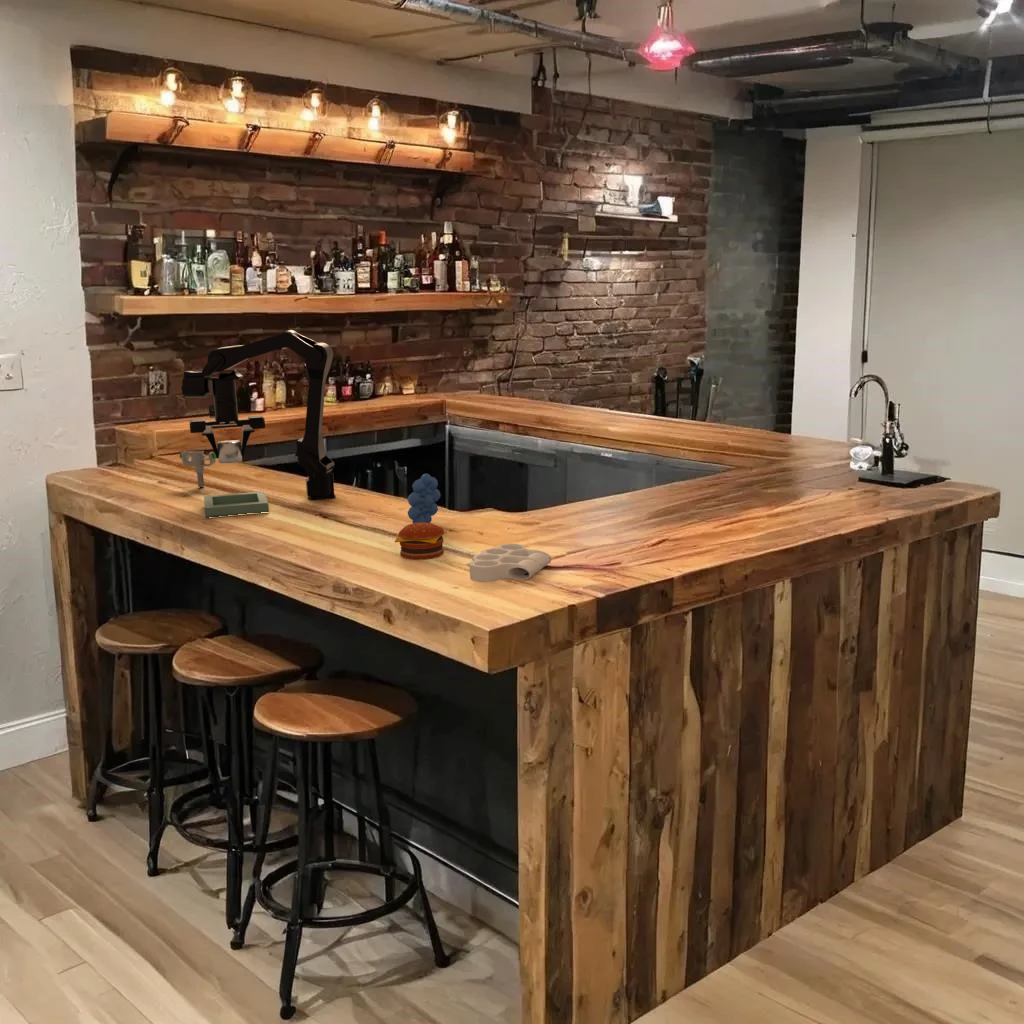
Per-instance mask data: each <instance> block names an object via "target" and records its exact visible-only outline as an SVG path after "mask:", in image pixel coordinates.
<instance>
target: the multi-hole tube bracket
mask: <svg viewBox="0 0 1024 1024" xmlns="http://www.w3.org/2000/svg"><path fill="white" fill-rule="evenodd" d="M551 563H552V555H551V554H550V553H547V552H545V551H542V550H538V549H529V548H526V546H525V545H524V544H520V543H502V544H499V545H498V546H496V547H491V548H486V549H483V550H481V551H480V553H478V554H475V555H474V556H473V557H472V561H471V562H468V563H466V564H465V566H467V567H469V579H470V580H471V581H473V582H478V583H489V582H490V583H493V582H498V581H501V580H515V581H527V580H528V579H530V578H531V577H533V575H535V574H536V573H538V572H539V571H541V570H542V569H543V568H545V566H546V567H547V565H549V564H551Z"/></svg>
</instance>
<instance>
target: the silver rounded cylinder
mask: <svg viewBox="0 0 1024 1024" xmlns="http://www.w3.org/2000/svg"><path fill="white" fill-rule="evenodd" d="M216 446H217V451H218V458H217V460H218V463H220V464H233V463H234V464H236V463H240V462H242V461H243V456H242V450H241V446H242V440H238V439H236V440H235V439H233V440H231V439H228V440H221V441H218V442H216Z"/></svg>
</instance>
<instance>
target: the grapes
mask: <svg viewBox="0 0 1024 1024" xmlns="http://www.w3.org/2000/svg"><path fill="white" fill-rule="evenodd" d="M438 486H439V483H438V480H437V479H436V477H434V476H431V475H430V473H424V474H423V475H421V476H420V478H418V479H416V480H415V481H414V482H413V483H412V486H411V487H412V490H413V492H411V493H410V494H409V495H408V497H407V502H408V504H409V506H411V507H410V508H409V509H408V511H407V517H408V518H409V519H410V520H412V521H411V522H412V524H413V523H420V522H426V523H432V521H433V520H432V519H433V518H432V516H435V515H436V514H437V512H438V511H439V508H438V505H437V504H436V502H437V501H438V500H439V499H440V498H441V492H440V490H439V489H438Z"/></svg>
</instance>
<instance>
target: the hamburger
mask: <svg viewBox="0 0 1024 1024" xmlns="http://www.w3.org/2000/svg"><path fill="white" fill-rule="evenodd" d="M445 534H447V535H448V532H446V531H444V529H443V528H442V527H441V526H439V525H437V524H436V523H432V522H430V523H426V522H420V523H413V522H412V523H410V524H407V525H404V527H403V528H401V530H399V532H398V535H397V537H396V538H395V540H394V543H399V546H400V551H399V553H400V557H402V558H404V559H408V560H415V561H418V560H419V561H420V560H421V561H424V560H425V561H426V560H429V559H430V560H431V559H434V558H440V557H441V556H443V555H444V553H445V548H444V546H443V544H444V541H445V540H444V537H443V536H444V535H445Z"/></svg>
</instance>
